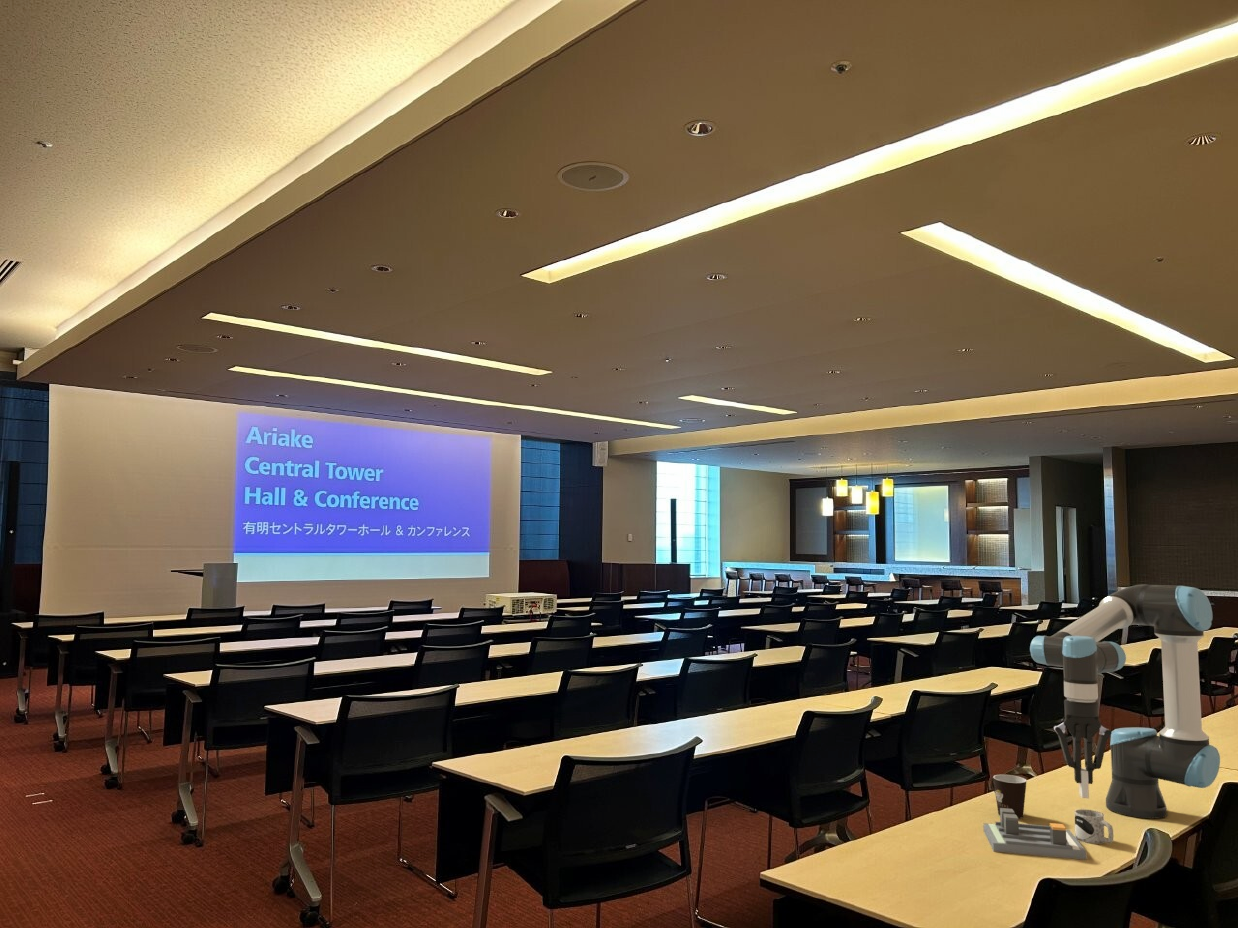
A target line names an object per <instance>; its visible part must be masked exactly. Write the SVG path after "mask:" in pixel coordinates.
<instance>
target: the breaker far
mask: <svg viewBox="0 0 1238 928" xmlns="http://www.w3.org/2000/svg"><path fill="white" fill-rule="evenodd" d="M1003 814H1015V812H1014V811H1013V809H1008V808H1000V815H999V816H1000V817H999V819H1000V820H999V822H1000V826H1001V828H1004V818H1003Z"/></svg>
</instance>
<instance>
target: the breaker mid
mask: <svg viewBox="0 0 1238 928" xmlns="http://www.w3.org/2000/svg"><path fill="white" fill-rule="evenodd" d="M1003 818H1004V833H1005V834H1011V835H1019V824H1020V822H1019V819H1018V817H1017V815H1015V814H1003Z"/></svg>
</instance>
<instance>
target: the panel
mask: <svg viewBox="0 0 1238 928" xmlns="http://www.w3.org/2000/svg"><path fill="white" fill-rule="evenodd" d="M982 824H983V826H982V827H983V833H984V835H985V837H986V840H987V842H988V843H989V845H990V847H991V849H992V851H993V852H994V853H995V852H996V853H1007V854H1008V853H1009V854H1017V855H1031V856H1039V857H1040V856H1041V857H1054V858H1060V859H1061V858H1062V859H1075V860H1083V861H1084V860H1085V861H1087V857H1088V856H1087V850H1086V849H1085V848H1084V846H1083V845H1082V844H1081V842H1080V841H1079V840H1077V839H1076V838H1075V834H1073V832H1072V831H1071V830H1070V829H1066V845H1055V844H1051V842H1050V825H1041V824H1040V825H1039V824H1030V823H1019V835H1011V834H1005V833H1004V828H1001V826H1000V821H995V823H986V822H983V823H982Z"/></svg>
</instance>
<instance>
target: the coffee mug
mask: <svg viewBox="0 0 1238 928" xmlns="http://www.w3.org/2000/svg"><path fill="white" fill-rule="evenodd" d="M990 785H991V788H992V790H993V792H994V794H995V799H996V806H997V813H998V816H1000V808H1008V809H1013V811H1014V812H1015V815H1017V817H1018V820H1019V819H1023V818H1024V811H1025V802H1026V790H1027V779H1026V778H1025V777H1022V776H1019V775H1012V774H995V775H993V777H992V778H991V779H990Z"/></svg>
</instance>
